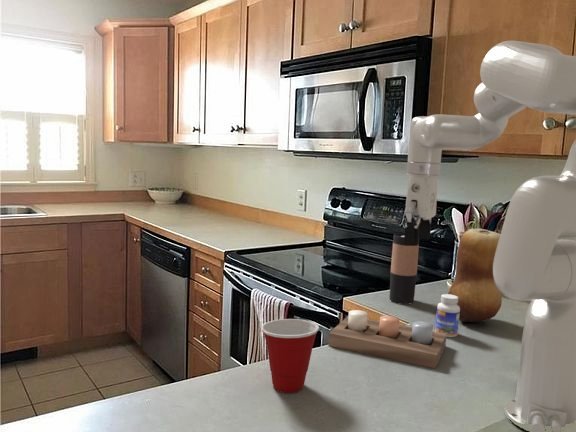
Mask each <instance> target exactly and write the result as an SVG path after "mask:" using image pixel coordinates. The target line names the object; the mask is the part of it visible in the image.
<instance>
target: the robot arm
mask: <svg viewBox="0 0 576 432" xmlns="http://www.w3.org/2000/svg"><path fill="white" fill-rule="evenodd" d="M481 61H482V62H481V64H480V69H479V76H480V80H481V82H480V83H479V84H478V85H477V87H476V88H475V90H474V92H473V93H474V94H473V102H474V107H475V108H476V110H477V112H478V113H476V114H475V115H473V116H470V115H469V116H468V115H457V114H456V115H455V114H440V113H439V114H436V113H435V114H431V115H429V116H426V115H425V116H424V115H422V116H420V115H419V116H415V117H413V118H412V119H411V121H410V127H409V128H410V129H409V141H408V149H407V150H408V152H407V165H406V176H408V177H409V179H408V184H407V185H408V186H407V192H406V199H405V211H404V212H405V216H406V218H405V220H404V221H405V223H404V233H405V235H404V244H406V245H413V246H417V245H418V240H419V241H420V240H430V238H431V228H432V218H434V217H435V216H436V215H437V200H438V199H437V197H438V196H437V195H438V179H437V178H440V173H441V162H442V151H443V150H445V151H448V150H449V151H450V150H451V151H452V150H453V151H474V150H477V149H480V148H482V147H485V146H486V145H488V144H490V143H491V142H493V141H495V140H497V139H498V138H499V137H500V136H501V135H502V134H503V132H504V131H505V129H506V127H507V126H508V123H509V118H511V117H512V116H514V115H515V114H517V113H519V112H520V111H523V110H524V109H526V108H530V109H533V110H536V111H538V112H541V113H548V114H549V113H550V114H558V115H559V114H561V115H572V116H576V55H568V54H563V52H562V51H560V50H559V49H558V48H555V47H554V46H550V45H548V44H543V43H534V42H527V41H522V40H521V41H519V40H513V39H511V40H505V41H501V42H500V43H497V44H495V45H494V46H492V47H491V48H490V49H489V50H488V51H487V53H486V54H485V56H484V58H483V59H482V60H481ZM573 141H574V142H573V143H572V144H571V147H570V150H569V153H568V156H567V161H565V165H564V168H563V169H562V172H561V174H560V175H540V176H535V177H531V178H530V179H527V180H525V181H524V182H522V184H521V185H519V187H518V188H517V189H516V190H515V192H514V194H513V195H512V197H511V198H510V202H509V204H508V207H507V210H506V213H505V214H506V215H505V218H504V221H503V224H502V228H501V233H500V234H501V235H500V238H499V242H498V245H497V249H496V253H495V257H494V262H493V277H494V281H495V284H496V286H497V288H498V290H499V291H500V292H501V295H503V296H504V297H506V298H508V299H510V300H513V301H517V302H518V301H519V302H527V301H528V302H530V303H529V304H528V307H527V309H526V312H525V316H524V322H523V328H522V329H523V331H522V336H521V337H522V339H521V346H520V353H519V354H520V356H519V365H518V373H517V383H516V389H515V391H516V393H515V397H513V398H511V399H509V400H508V401H506V403H505V404H504V415H505V417H506V418H507V419H508V420H509V419H510V420H512V421H515V422H517V423H521V424H525V423H526V422H527V424H532V430H533V432H545V431H546V429H545V426H551V429H552V432H561V427H565V425H566V424H570V423H573V422H574V421H575V420H576V239H575V240H573V239H565V238H576V139H574V140H573ZM558 238H563V239H558ZM510 420H509V421H510Z"/></svg>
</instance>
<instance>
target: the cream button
mask: <svg viewBox="0 0 576 432" xmlns="http://www.w3.org/2000/svg"><path fill="white" fill-rule="evenodd" d="M348 316H349V317H348V330H353V331H358V332H366V330H367V319H368V312H366V311H364V310H359V309H354V310H353V309H352V310H350V311H348Z"/></svg>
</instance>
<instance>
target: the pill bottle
mask: <svg viewBox="0 0 576 432" xmlns="http://www.w3.org/2000/svg"><path fill="white" fill-rule="evenodd" d="M457 303H458V297H457V296H455V295H451V294H448V293H444V294H441V297H440V302H438V304H437V308H436V317H435V325H434V326H435V327H434V328H435V329H434V332H440V333H445V334H447V335H446V338H455V337H457V336H458V331H459V324H460V318H459V315H460V307H459V306H458V305H457Z"/></svg>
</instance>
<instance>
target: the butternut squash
mask: <svg viewBox="0 0 576 432" xmlns="http://www.w3.org/2000/svg"><path fill="white" fill-rule="evenodd" d="M500 235H501V233H498V232H495V231H492V230H488V229H484V228H480V227H479V228H470V229H467V230H466V231H465V232H463V234H462V235H461V238H460V241H459V243H458V244H459V245H458V249H457V253H456V265H455V277H454V280H453V282H452V284H451V285H450V287H449V291H448V293H447V294H451V295H455V296H457V297H458V303H457V305H458V306H459V307H460V315H459V320H461V321H462V322H465V323H474V324H475V323H478V324H479V323H483V322H485V321H489V320H490V319H493V318H494V317H495V316H496V315H497V314H498V312H499V311H500V309H501V307H502V302H503V299H502V298H503V297H502V295H503V294H502V293H501V292H500V291H499V290H498V288H497V286H496V284H495V281H494V277H493V262H494V257H495V253H496V249H497V245H498V242H499V238H500Z"/></svg>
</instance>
